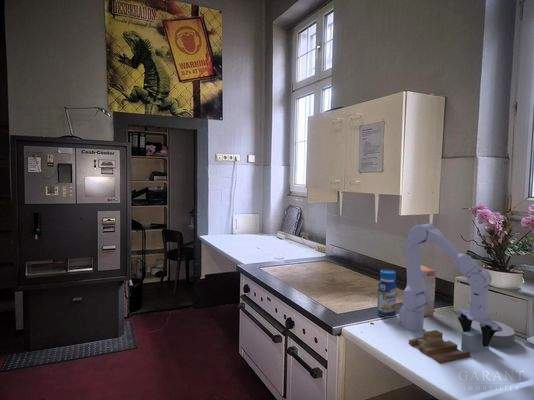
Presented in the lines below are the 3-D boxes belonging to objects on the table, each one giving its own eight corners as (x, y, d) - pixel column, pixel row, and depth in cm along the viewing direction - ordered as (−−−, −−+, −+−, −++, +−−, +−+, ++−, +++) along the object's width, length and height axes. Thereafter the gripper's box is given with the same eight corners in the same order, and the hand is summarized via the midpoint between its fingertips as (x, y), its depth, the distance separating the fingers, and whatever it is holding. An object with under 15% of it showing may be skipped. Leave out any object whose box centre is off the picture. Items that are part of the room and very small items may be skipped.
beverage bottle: (389, 310, 168) (391, 268, 166) (400, 317, 160) (401, 273, 158) (373, 311, 166) (374, 269, 165) (382, 318, 158) (384, 274, 156)
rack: (408, 346, 133) (408, 339, 133) (437, 340, 138) (437, 334, 137) (440, 366, 119) (440, 359, 119) (471, 359, 124) (472, 352, 123)
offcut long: (417, 344, 132) (417, 339, 132) (436, 341, 135) (436, 336, 135) (423, 348, 129) (424, 343, 129) (443, 344, 132) (443, 339, 132)
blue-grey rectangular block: (461, 351, 128) (462, 332, 128) (481, 347, 132) (482, 328, 131) (468, 355, 126) (469, 336, 125) (488, 350, 129) (490, 332, 129)
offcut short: (423, 338, 132) (423, 332, 132) (435, 336, 135) (436, 329, 134) (429, 342, 130) (429, 335, 130) (442, 339, 132) (442, 333, 132)
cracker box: (434, 316, 162) (436, 270, 160) (422, 316, 161) (424, 271, 159) (416, 304, 175) (418, 262, 174) (405, 305, 174) (407, 263, 173)
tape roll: (504, 353, 129) (504, 339, 129) (460, 337, 141) (461, 324, 141) (520, 341, 138) (521, 329, 138) (478, 327, 150) (479, 316, 150)
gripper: (452, 298, 133) (450, 333, 134) (488, 313, 120) (486, 352, 121) (467, 296, 136) (464, 331, 137) (503, 310, 122) (501, 349, 123)
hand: (475, 341), depth 129 cm, fingers open, 7 cm apart
